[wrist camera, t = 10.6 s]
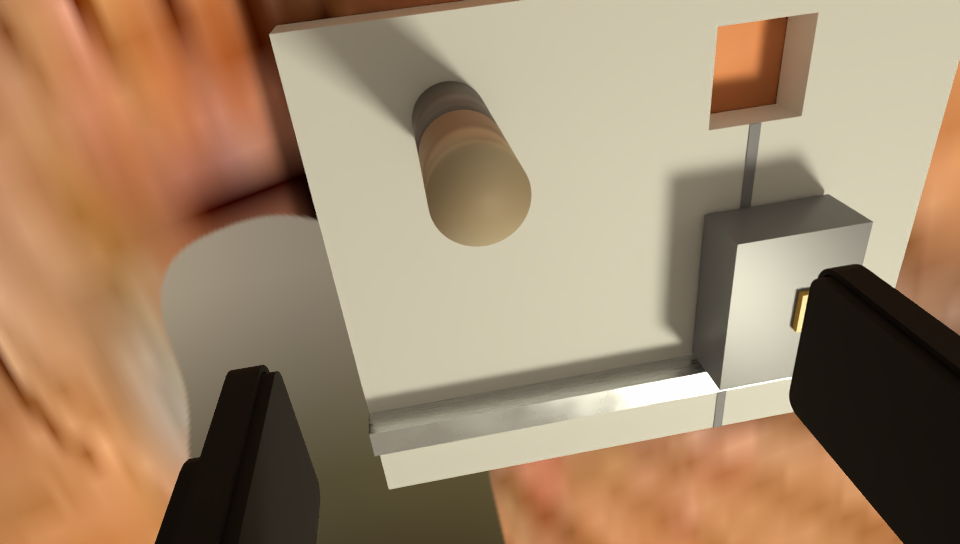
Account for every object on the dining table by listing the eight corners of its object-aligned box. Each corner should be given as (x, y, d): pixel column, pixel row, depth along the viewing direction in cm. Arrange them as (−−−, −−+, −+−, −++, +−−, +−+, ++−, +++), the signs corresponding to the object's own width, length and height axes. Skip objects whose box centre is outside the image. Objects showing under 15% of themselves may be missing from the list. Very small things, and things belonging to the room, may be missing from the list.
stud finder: (704, 214, 28) (741, 248, 26) (828, 194, 29) (878, 224, 26) (692, 352, 33) (722, 394, 30) (801, 332, 33) (841, 372, 30)
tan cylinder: (406, 87, 24) (420, 158, 17) (483, 75, 24) (527, 142, 17) (418, 161, 25) (435, 254, 18) (490, 150, 26) (534, 237, 19)
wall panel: (276, 25, 24) (262, 41, 21) (953, -66, 26) (1028, -62, 23) (388, 461, 36) (389, 511, 33) (841, 376, 38) (881, 415, 35)
